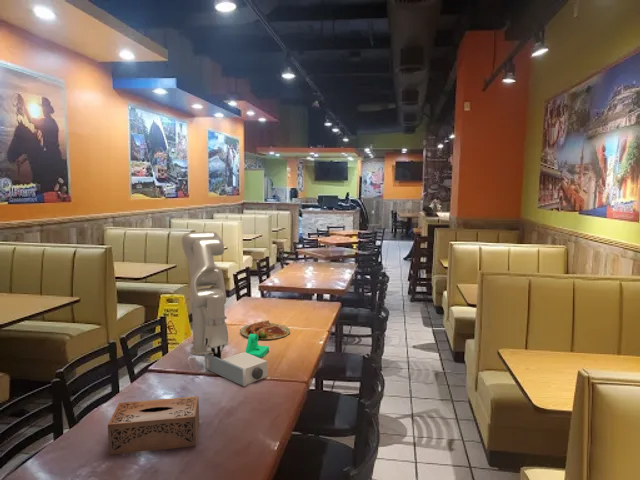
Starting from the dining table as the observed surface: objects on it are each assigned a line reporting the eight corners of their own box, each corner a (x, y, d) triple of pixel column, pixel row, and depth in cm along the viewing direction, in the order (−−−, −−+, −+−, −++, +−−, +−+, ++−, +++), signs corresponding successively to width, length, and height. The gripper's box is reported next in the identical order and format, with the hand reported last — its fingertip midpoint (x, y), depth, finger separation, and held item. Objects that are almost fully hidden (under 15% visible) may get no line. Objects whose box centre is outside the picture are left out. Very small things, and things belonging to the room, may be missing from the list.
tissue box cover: (109, 455, 139) (107, 424, 138) (120, 431, 153) (119, 402, 152) (196, 446, 144) (195, 416, 143) (199, 423, 158) (198, 396, 157)
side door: (203, 369, 204) (203, 354, 203) (207, 368, 205) (207, 353, 204) (242, 387, 185) (242, 370, 184) (246, 385, 187) (246, 369, 186)
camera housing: (222, 374, 199) (222, 359, 198) (244, 366, 207) (244, 351, 207) (247, 386, 187) (247, 370, 186) (269, 377, 195) (269, 362, 195)
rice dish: (299, 332, 260) (299, 323, 260) (269, 344, 237) (269, 334, 236) (261, 324, 275) (261, 316, 275) (229, 335, 252) (229, 325, 251)
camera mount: (259, 360, 216) (259, 339, 215) (245, 358, 218) (244, 337, 217) (269, 351, 227) (269, 331, 226) (255, 349, 229) (255, 330, 228)
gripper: (225, 315, 209) (226, 354, 211) (196, 322, 198) (198, 363, 200) (235, 319, 204) (236, 358, 206) (206, 326, 193) (207, 367, 195)
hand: (217, 360), depth 203 cm, fingers closed
